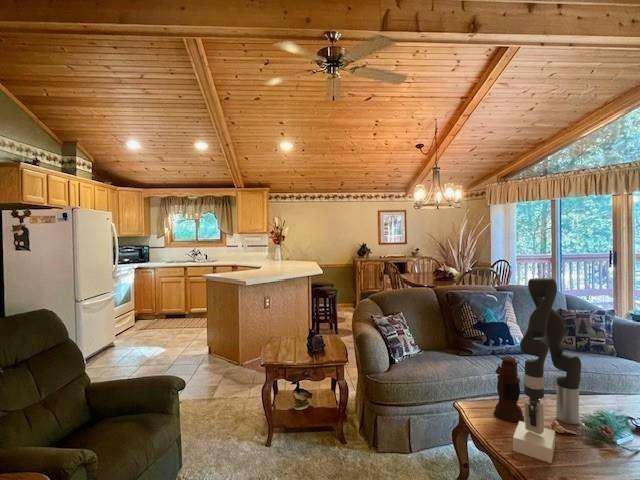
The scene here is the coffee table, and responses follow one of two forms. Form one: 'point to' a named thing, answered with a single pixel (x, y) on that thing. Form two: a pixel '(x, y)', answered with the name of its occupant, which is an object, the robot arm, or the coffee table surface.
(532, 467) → the coffee table surface
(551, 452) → the cream box
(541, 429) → the skincare box
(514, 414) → the dark brown tall piece
